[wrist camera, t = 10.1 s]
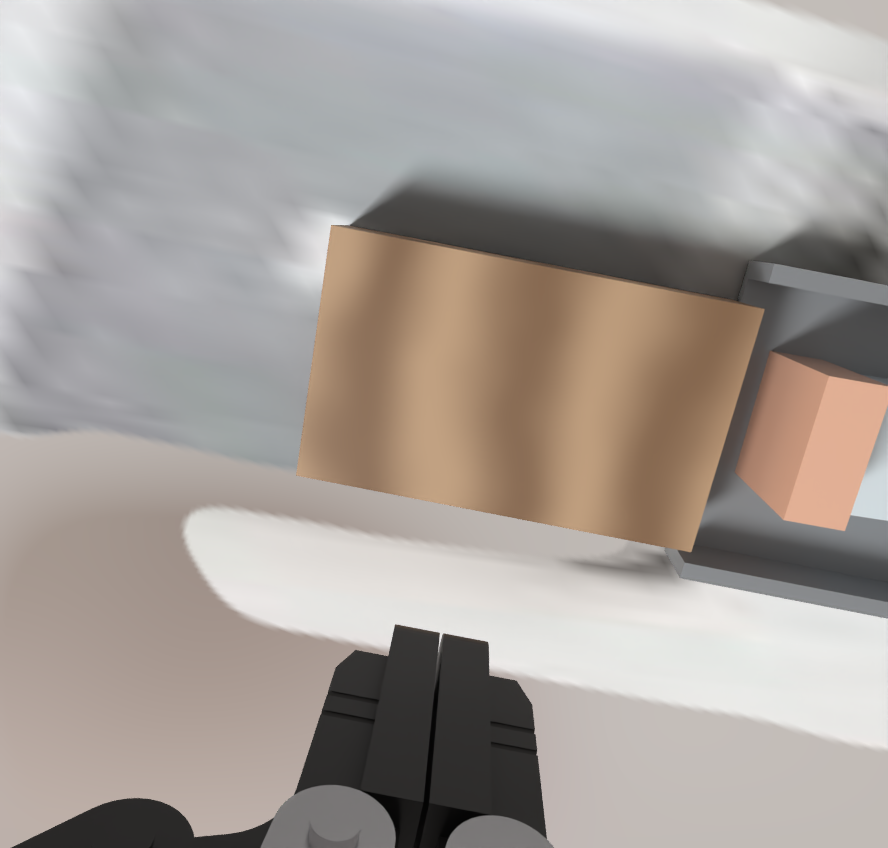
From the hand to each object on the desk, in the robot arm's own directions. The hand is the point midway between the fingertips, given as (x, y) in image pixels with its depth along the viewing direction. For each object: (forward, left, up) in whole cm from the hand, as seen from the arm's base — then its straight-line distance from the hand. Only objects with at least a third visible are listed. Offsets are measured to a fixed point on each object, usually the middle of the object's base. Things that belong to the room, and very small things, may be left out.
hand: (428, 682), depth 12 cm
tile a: (+10, +9, -21) cm, 25 cm away
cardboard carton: (+2, +2, -25) cm, 25 cm away
